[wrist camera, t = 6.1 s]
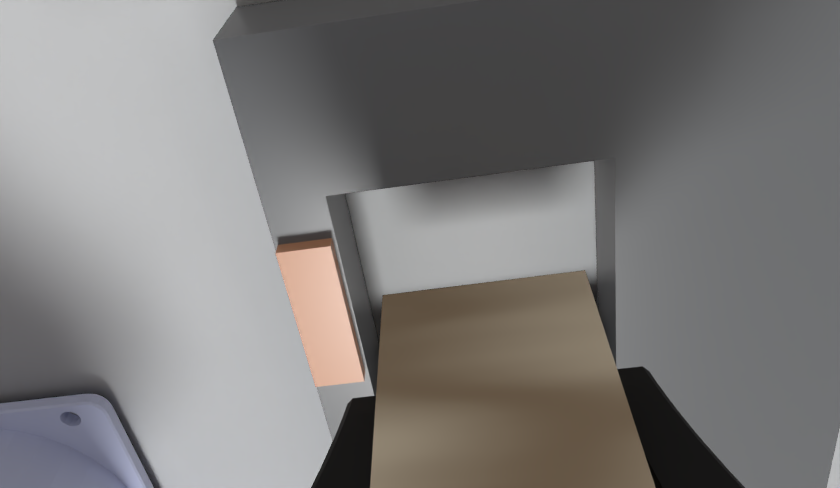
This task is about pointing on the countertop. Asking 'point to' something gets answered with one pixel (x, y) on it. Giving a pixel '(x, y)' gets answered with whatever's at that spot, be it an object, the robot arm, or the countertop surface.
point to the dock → (614, 181)
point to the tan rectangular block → (502, 390)
